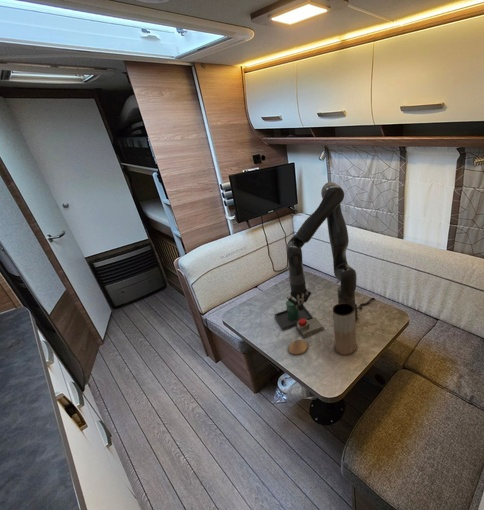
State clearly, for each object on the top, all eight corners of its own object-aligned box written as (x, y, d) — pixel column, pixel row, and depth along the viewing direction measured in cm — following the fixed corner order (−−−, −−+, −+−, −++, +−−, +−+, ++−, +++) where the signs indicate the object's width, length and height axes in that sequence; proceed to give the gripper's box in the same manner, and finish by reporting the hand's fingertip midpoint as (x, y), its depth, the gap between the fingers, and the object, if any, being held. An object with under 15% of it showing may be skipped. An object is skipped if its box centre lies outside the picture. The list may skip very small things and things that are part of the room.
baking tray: (302, 306, 168) (302, 304, 168) (312, 319, 157) (312, 316, 156) (275, 316, 161) (274, 314, 160) (283, 330, 149) (283, 327, 149)
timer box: (315, 320, 156) (314, 314, 154) (323, 329, 148) (322, 323, 147) (295, 327, 151) (294, 321, 149) (302, 338, 143) (301, 331, 141)
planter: (337, 339, 141) (335, 301, 132) (357, 340, 139) (356, 303, 130) (333, 353, 132) (330, 314, 123) (354, 355, 130) (352, 316, 121)
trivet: (303, 339, 142) (302, 338, 142) (310, 350, 135) (310, 349, 135) (286, 346, 138) (286, 345, 138) (292, 357, 131) (292, 356, 131)
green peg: (296, 312, 162) (294, 298, 158) (300, 317, 158) (298, 303, 153) (286, 316, 160) (284, 301, 156) (290, 321, 155) (288, 306, 151)
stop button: (304, 320, 150) (304, 317, 150) (307, 324, 148) (307, 321, 147) (298, 322, 149) (298, 320, 148) (301, 326, 146) (300, 323, 145)
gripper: (287, 287, 131) (291, 317, 138) (312, 280, 137) (315, 309, 144) (282, 281, 137) (286, 310, 144) (306, 274, 143) (309, 302, 150)
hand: (300, 309), depth 144 cm, fingers closed
